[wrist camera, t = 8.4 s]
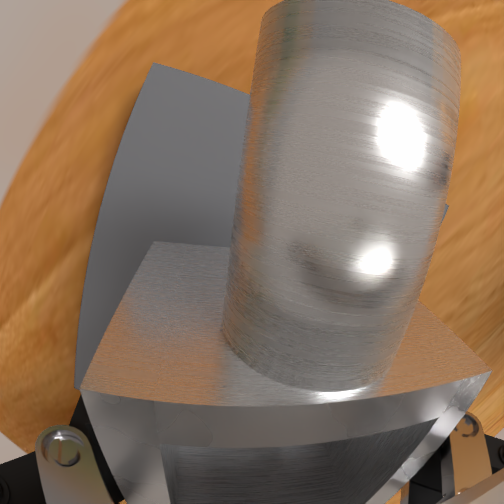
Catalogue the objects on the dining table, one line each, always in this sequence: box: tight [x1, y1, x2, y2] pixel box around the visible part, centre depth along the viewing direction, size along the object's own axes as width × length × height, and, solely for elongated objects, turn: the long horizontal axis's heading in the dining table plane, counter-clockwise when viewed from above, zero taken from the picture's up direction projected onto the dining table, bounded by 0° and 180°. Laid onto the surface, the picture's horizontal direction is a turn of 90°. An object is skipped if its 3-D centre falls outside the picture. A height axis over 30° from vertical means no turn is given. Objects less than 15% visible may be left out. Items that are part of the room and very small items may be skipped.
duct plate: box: [74, 62, 449, 390], centre depth 11 cm, size 16×14×6 cm
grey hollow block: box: [80, 0, 492, 504], centre depth 7 cm, size 12×7×6 cm, turn 172°
